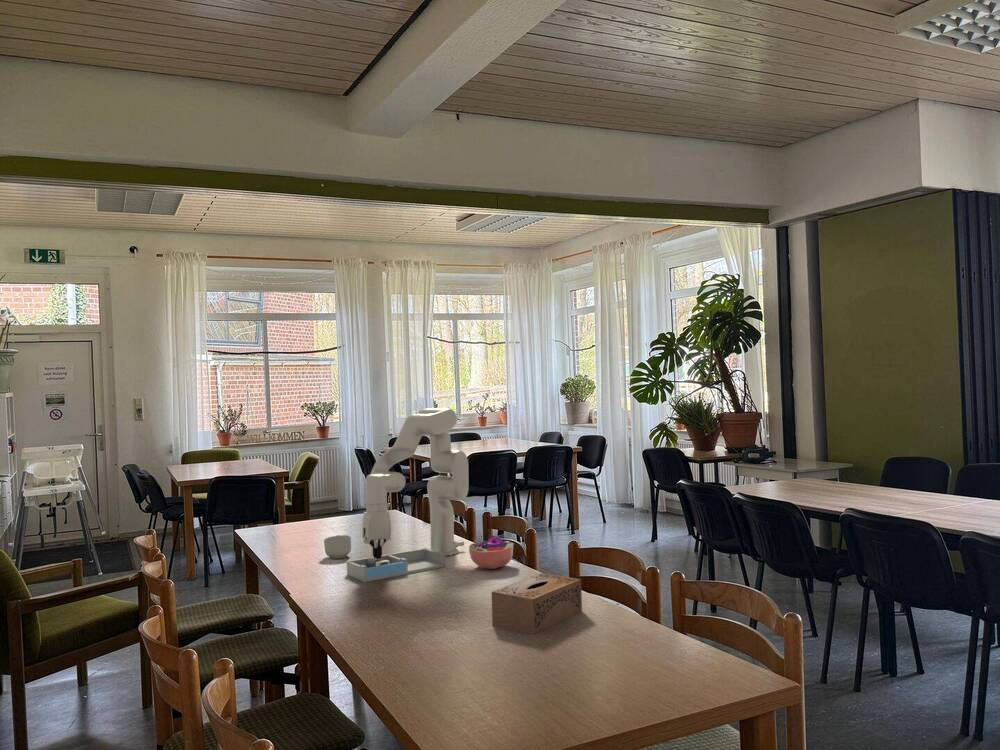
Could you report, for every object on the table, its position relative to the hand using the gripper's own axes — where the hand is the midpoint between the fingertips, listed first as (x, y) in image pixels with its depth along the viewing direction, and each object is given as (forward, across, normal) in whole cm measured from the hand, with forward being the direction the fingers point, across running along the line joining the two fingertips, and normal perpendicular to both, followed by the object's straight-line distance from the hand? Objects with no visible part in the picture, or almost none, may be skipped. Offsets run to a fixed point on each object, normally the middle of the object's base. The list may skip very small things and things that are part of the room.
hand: (377, 557), depth 293 cm
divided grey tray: (+6, -8, -1) cm, 10 cm away
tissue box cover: (+7, -11, +79) cm, 80 cm away
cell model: (+6, -38, +19) cm, 43 cm away
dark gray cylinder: (+3, 0, 0) cm, 3 cm away
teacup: (+6, -2, -39) cm, 39 cm away
